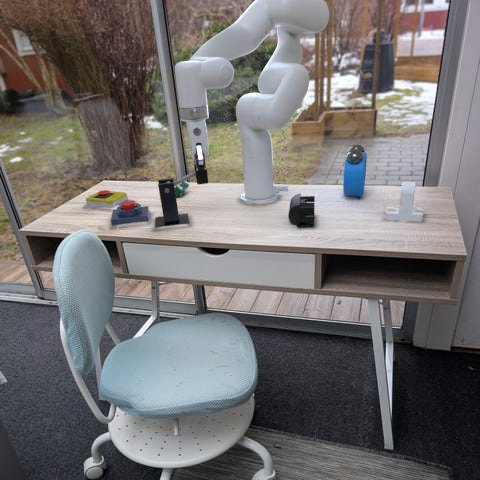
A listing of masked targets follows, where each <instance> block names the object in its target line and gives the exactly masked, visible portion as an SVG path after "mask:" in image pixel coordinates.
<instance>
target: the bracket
mask: <svg viewBox="0 0 480 480" xmlns="http://www.w3.org/2000/svg"><path fill="white" fill-rule="evenodd" d="M167 181H169V182H170V183H165V182H167ZM174 181H175V180H174V177H171V178H162V179H158V180H157V183H158V184H157V187H158V193H159V199H160V205H161V210H162V211H161V212H162V215H161V216H154V217H155V218H154V228H163V227H170V226H171V227H172V226H180V225H188V224H190V219H189V213H179V207H178V201H177V196H176V193H175V187H176V186H174Z"/></svg>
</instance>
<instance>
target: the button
mask: <svg viewBox="0 0 480 480" xmlns="http://www.w3.org/2000/svg"><path fill="white" fill-rule="evenodd" d="M136 203H137V202H136V201H135V200H133V199H128V201H124V202H122V203H121V208H122V210H131V209H134V208H136Z"/></svg>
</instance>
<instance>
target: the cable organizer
mask: <svg viewBox="0 0 480 480" xmlns="http://www.w3.org/2000/svg"><path fill="white" fill-rule="evenodd" d="M416 185H417V182H416V181H402V183H401V188H400V189H401V190H400V197H399V205H398V206H387V207H386V211H385V216H384V220H386V221H399V222H401V221H402V222H414V223H415V222H418V223H422V222H423V219H424V211H425V209H424V208H423V207H414V200H415V194H416Z"/></svg>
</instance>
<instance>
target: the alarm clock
mask: <svg viewBox="0 0 480 480" xmlns="http://www.w3.org/2000/svg"><path fill="white" fill-rule="evenodd" d="M367 159H368V155H367V152H366V151H365V147H364V146H363V145H362V144H360V143H359V144H358V143H356V144H352V145H351V146H350V147H349V148H348V152H346V154H345V159H344V170H343V182H342V183H343V185H342V186H343V187H342V189H343V190H342V191H343V195H344V196H345V197H347V196H348V197H358V199H359V200H361V197H363V195H364V192H365V185H366V174H367V162H368V161H367Z"/></svg>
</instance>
